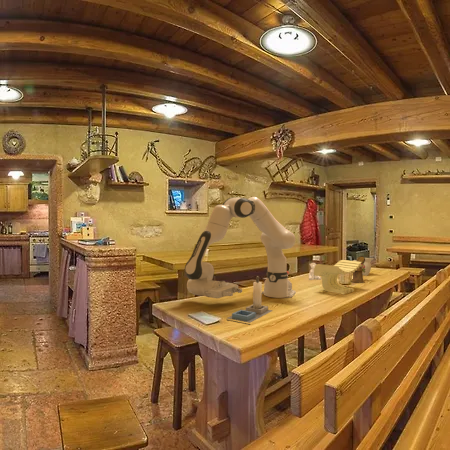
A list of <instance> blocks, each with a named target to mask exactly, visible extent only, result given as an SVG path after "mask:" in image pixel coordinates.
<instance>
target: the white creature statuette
mask: <svg viewBox="0 0 450 450" xmlns="http://www.w3.org/2000/svg"><path fill="white" fill-rule="evenodd" d="M317 264H318V263H315V262H311V263H309V266H310V269H309V273H308V280H309V281H312V280H313V281H314V280H315V281H316V280H319V281H322V278H321V276H315V275H314V267H315V266H316V265H317Z"/></svg>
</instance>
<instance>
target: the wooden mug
mask: <svg viewBox="0 0 450 450" xmlns="http://www.w3.org/2000/svg"><path fill="white" fill-rule="evenodd" d="M365 258H366V257H364V256H363V255H360V256H358V257H357V258H356V260H357V262H361V264H363V263H364V262H365ZM351 283H354V284H364V283H365V282H364V275H363V274H362V267H361V266H360V267H359V268H357V270H355V272H353V279H352V282H351Z"/></svg>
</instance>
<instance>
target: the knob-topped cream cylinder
mask: <svg viewBox="0 0 450 450" xmlns="http://www.w3.org/2000/svg"><path fill="white" fill-rule="evenodd" d="M255 280H256V281H253V287H252V289H253V292H252V296H253V297H252V305H253V308H255V309H261V305H262V291H263V290H262V288H263V286H262V285H263V284H262V281H260V276H258V275H256V276H255Z"/></svg>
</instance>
